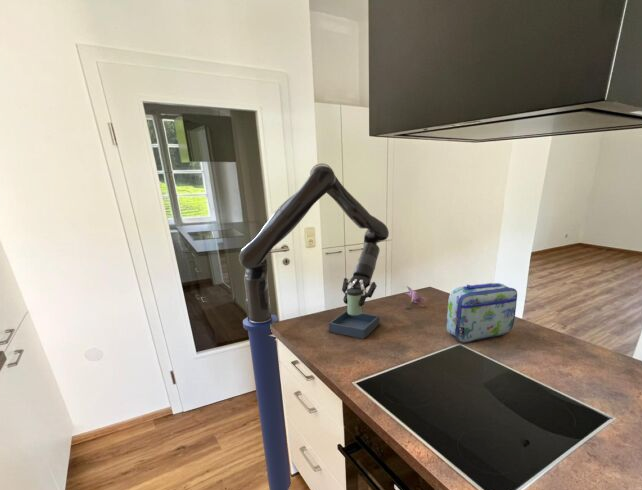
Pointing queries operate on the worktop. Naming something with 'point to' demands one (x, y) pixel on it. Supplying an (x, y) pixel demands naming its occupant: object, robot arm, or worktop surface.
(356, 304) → the food flask
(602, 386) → the worktop surface
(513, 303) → the lunch box
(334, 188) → the robot arm
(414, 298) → the lily
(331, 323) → the blue square tray
